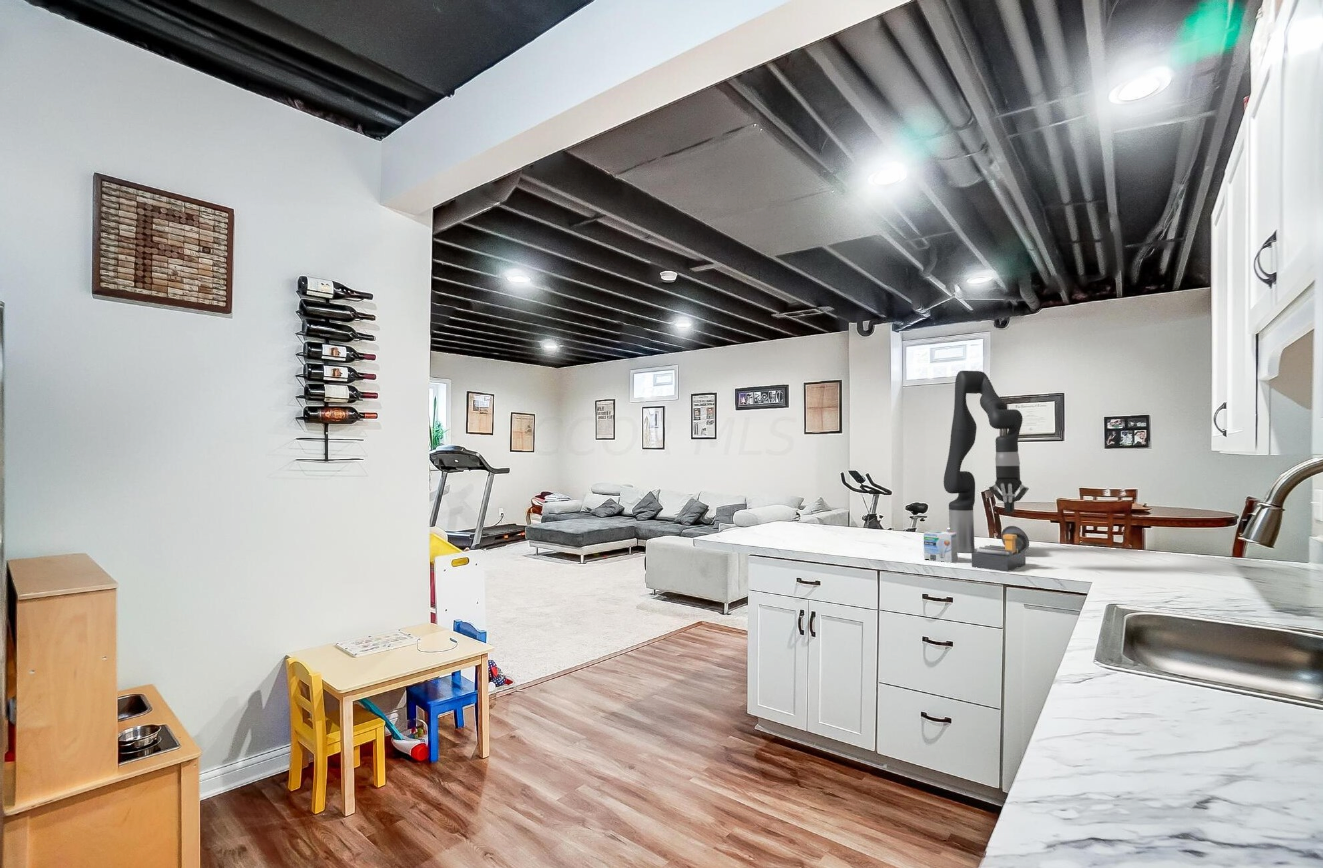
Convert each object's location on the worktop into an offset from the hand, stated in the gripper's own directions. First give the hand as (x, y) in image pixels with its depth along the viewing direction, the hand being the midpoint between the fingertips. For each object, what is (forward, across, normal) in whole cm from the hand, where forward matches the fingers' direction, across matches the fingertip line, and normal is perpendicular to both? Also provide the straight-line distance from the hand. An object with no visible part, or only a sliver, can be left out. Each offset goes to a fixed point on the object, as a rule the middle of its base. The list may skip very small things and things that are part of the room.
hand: (1009, 512), depth 219 cm
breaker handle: (+14, 0, +1) cm, 14 cm away
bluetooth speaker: (+19, -12, +36) cm, 43 cm away
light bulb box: (+20, -25, -2) cm, 31 cm away
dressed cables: (+15, -4, +1) cm, 15 cm away
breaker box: (+20, -5, +1) cm, 20 cm away
